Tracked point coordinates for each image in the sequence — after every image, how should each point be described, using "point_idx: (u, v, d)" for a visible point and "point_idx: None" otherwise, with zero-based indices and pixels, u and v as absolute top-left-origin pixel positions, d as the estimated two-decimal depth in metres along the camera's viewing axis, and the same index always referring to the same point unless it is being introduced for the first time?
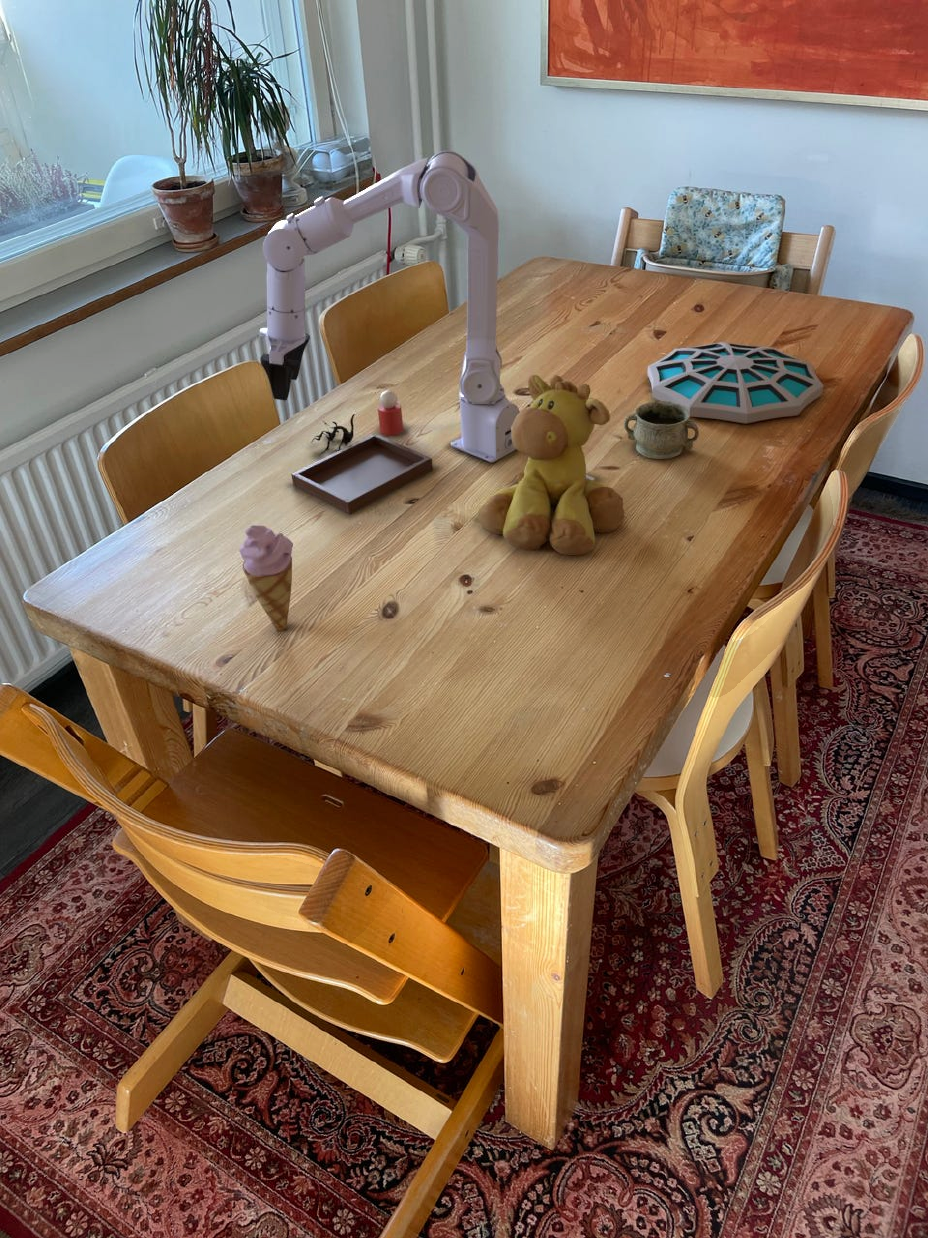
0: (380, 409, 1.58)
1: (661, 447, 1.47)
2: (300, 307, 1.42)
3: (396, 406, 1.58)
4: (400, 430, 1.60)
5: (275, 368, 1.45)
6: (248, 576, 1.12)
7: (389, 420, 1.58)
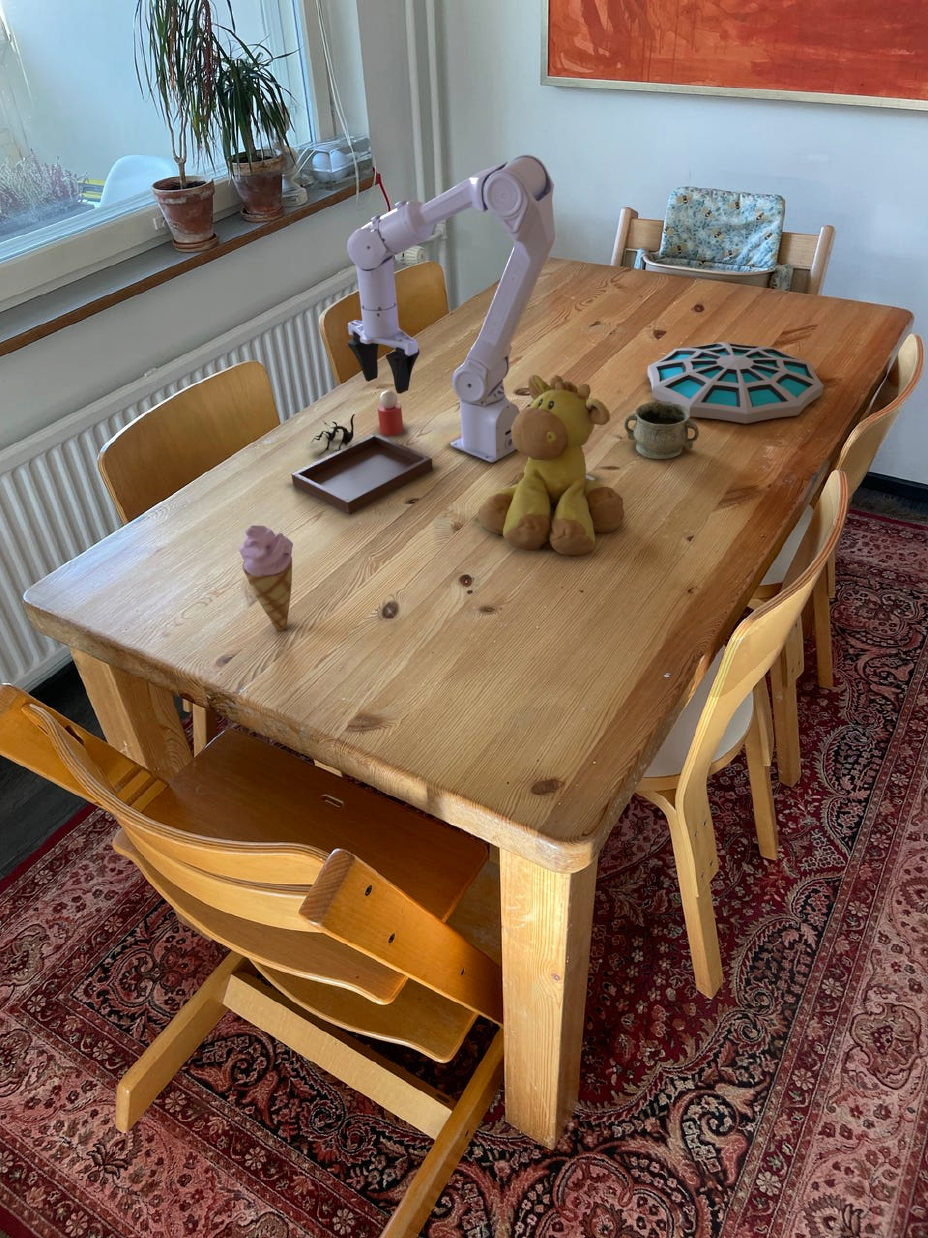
0: (380, 409, 1.58)
1: (661, 447, 1.47)
2: (388, 305, 1.46)
3: (396, 406, 1.58)
4: (400, 430, 1.60)
5: None
6: (248, 576, 1.12)
7: (389, 420, 1.58)
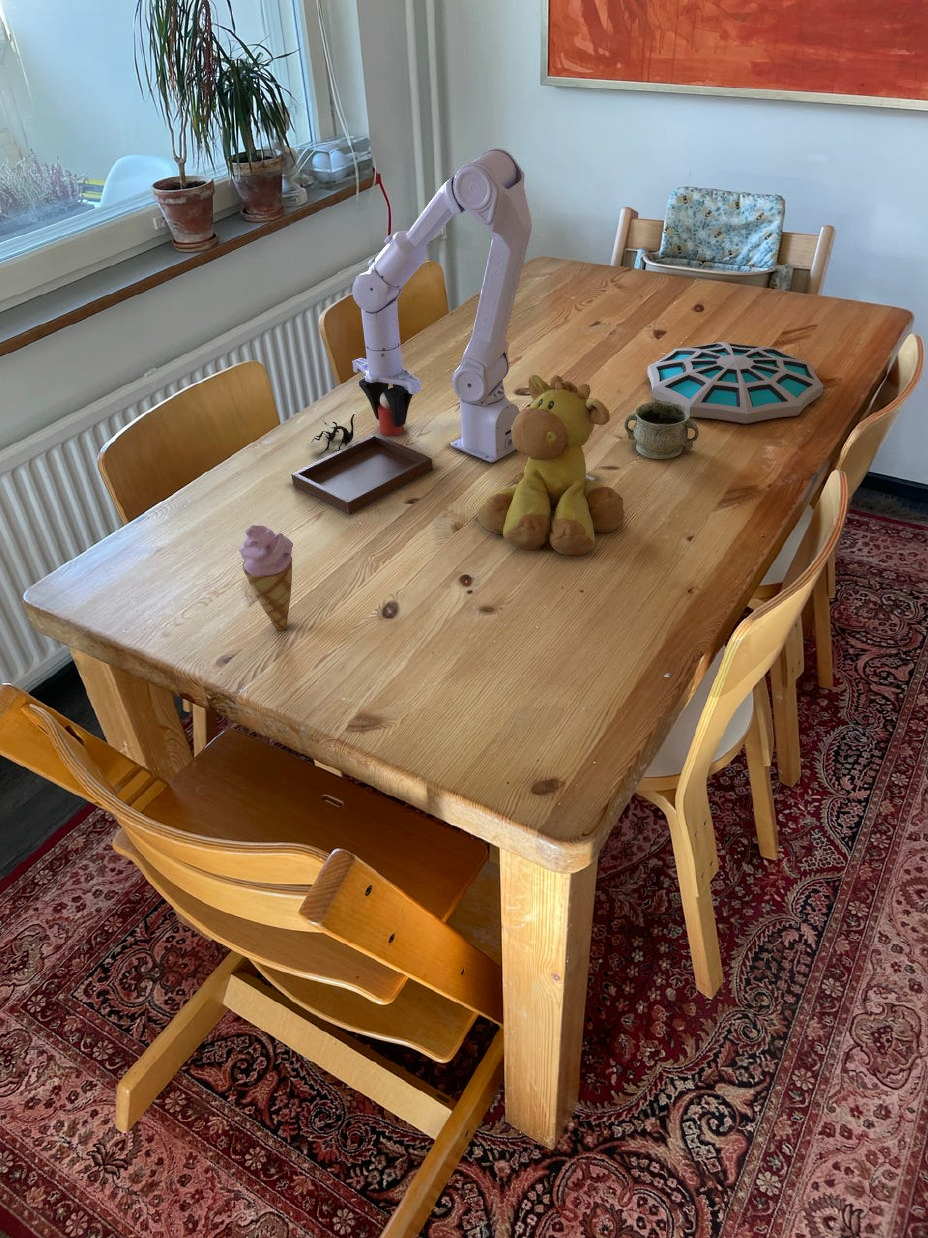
0: (380, 409, 1.58)
1: (661, 447, 1.47)
2: (392, 345, 1.50)
3: None
4: (400, 430, 1.60)
5: None
6: (248, 576, 1.12)
7: (389, 420, 1.58)
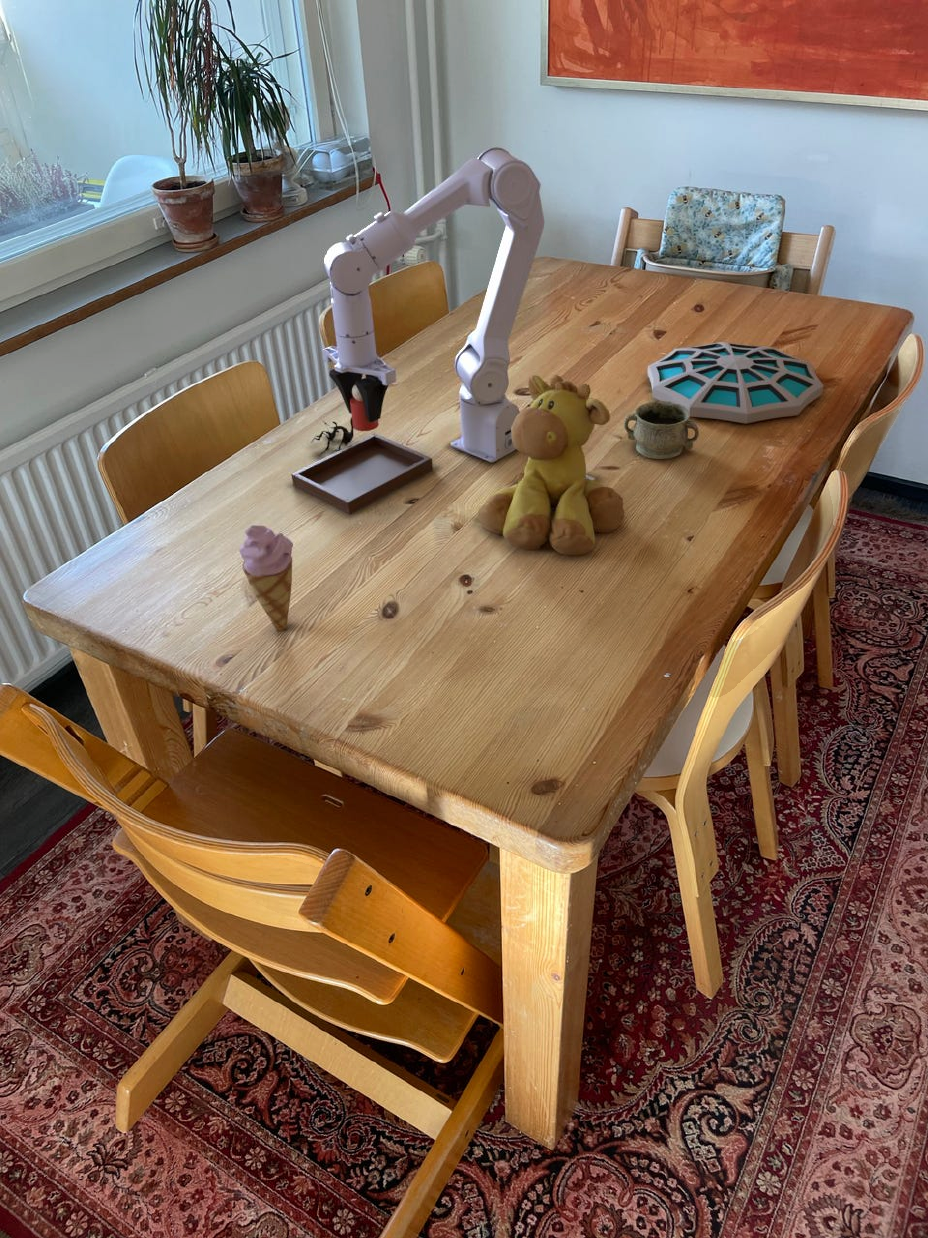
0: (352, 402, 1.44)
1: (661, 447, 1.47)
2: (372, 327, 1.37)
3: None
4: (375, 425, 1.46)
5: None
6: (248, 576, 1.12)
7: (362, 414, 1.44)
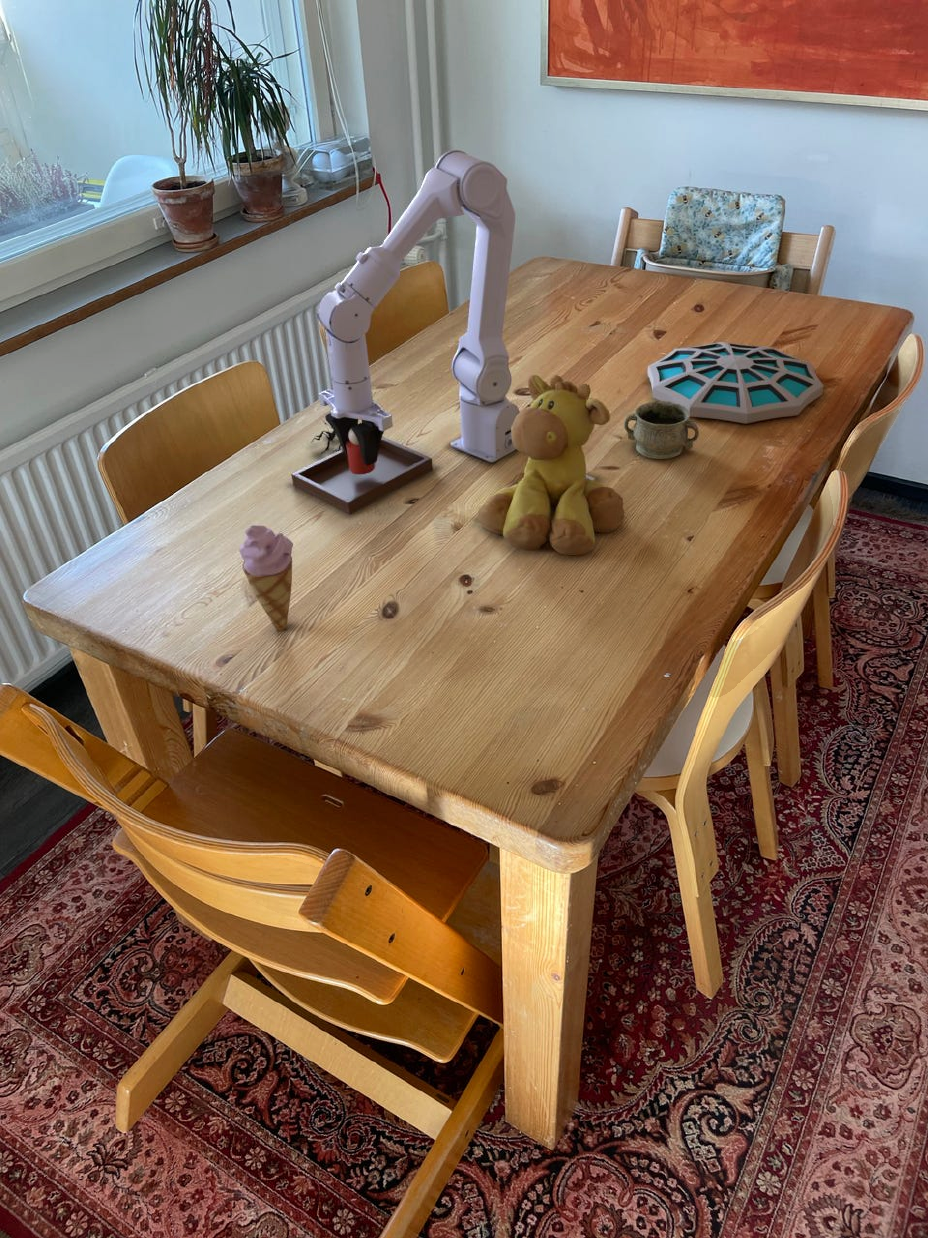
0: (349, 446, 1.44)
1: (661, 447, 1.47)
2: (369, 371, 1.38)
3: None
4: (371, 468, 1.46)
5: None
6: (248, 576, 1.12)
7: (358, 458, 1.44)
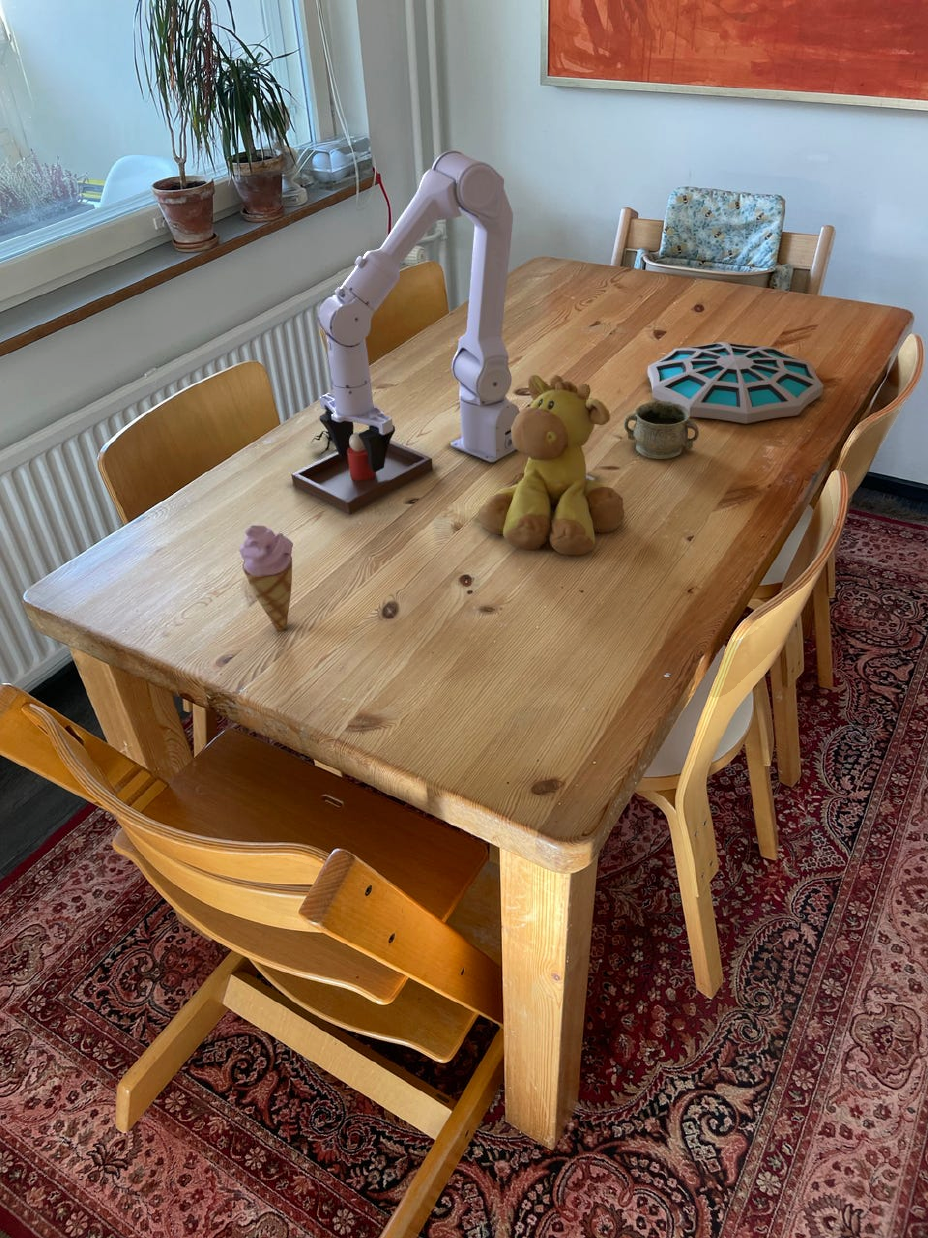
0: (350, 452, 1.45)
1: (661, 447, 1.47)
2: (369, 375, 1.38)
3: None
4: (372, 474, 1.47)
5: None
6: (248, 576, 1.12)
7: (359, 464, 1.45)
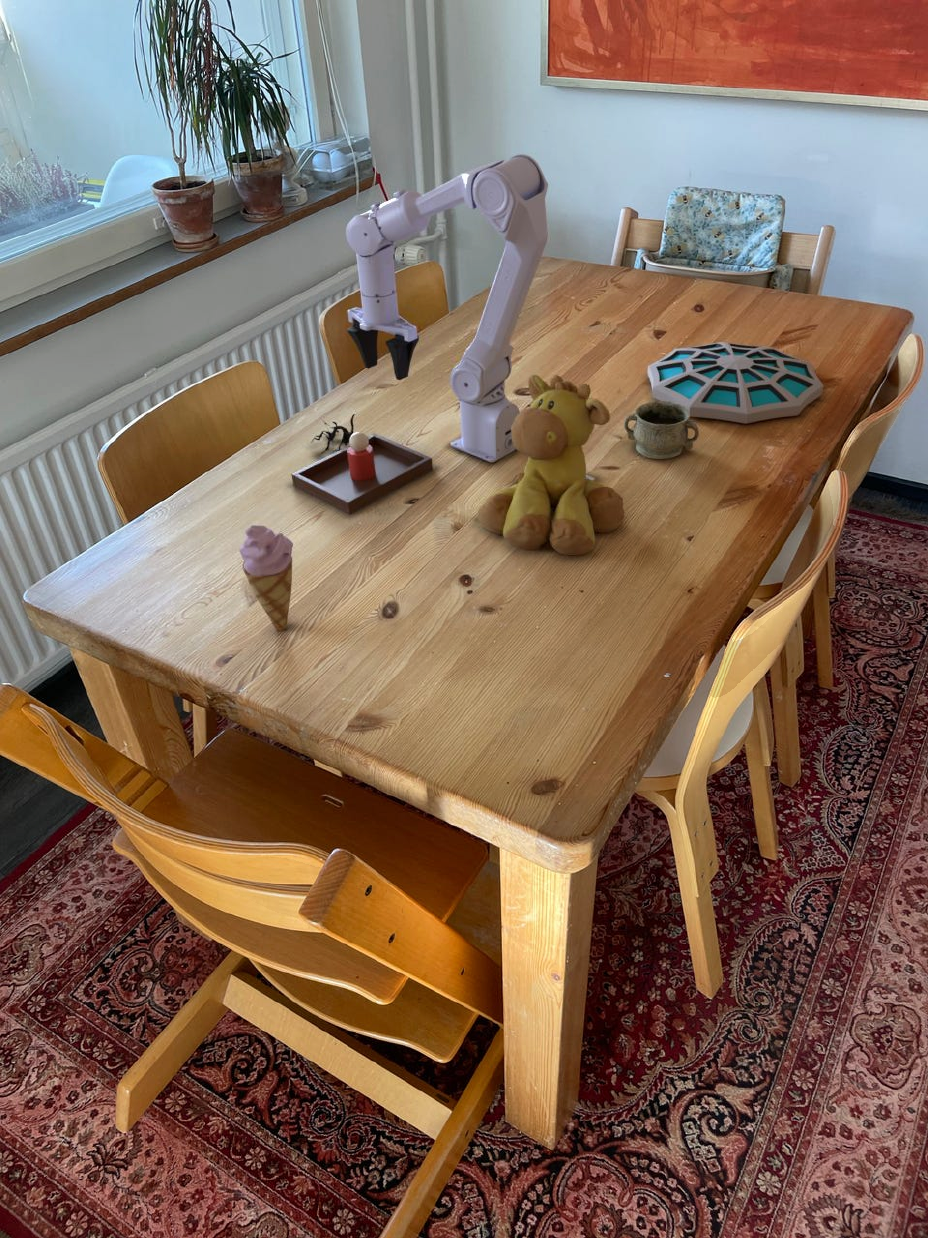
0: (350, 452, 1.45)
1: (661, 447, 1.47)
2: (386, 292, 1.47)
3: (367, 449, 1.46)
4: (372, 474, 1.47)
5: None
6: (248, 576, 1.12)
7: (359, 464, 1.45)
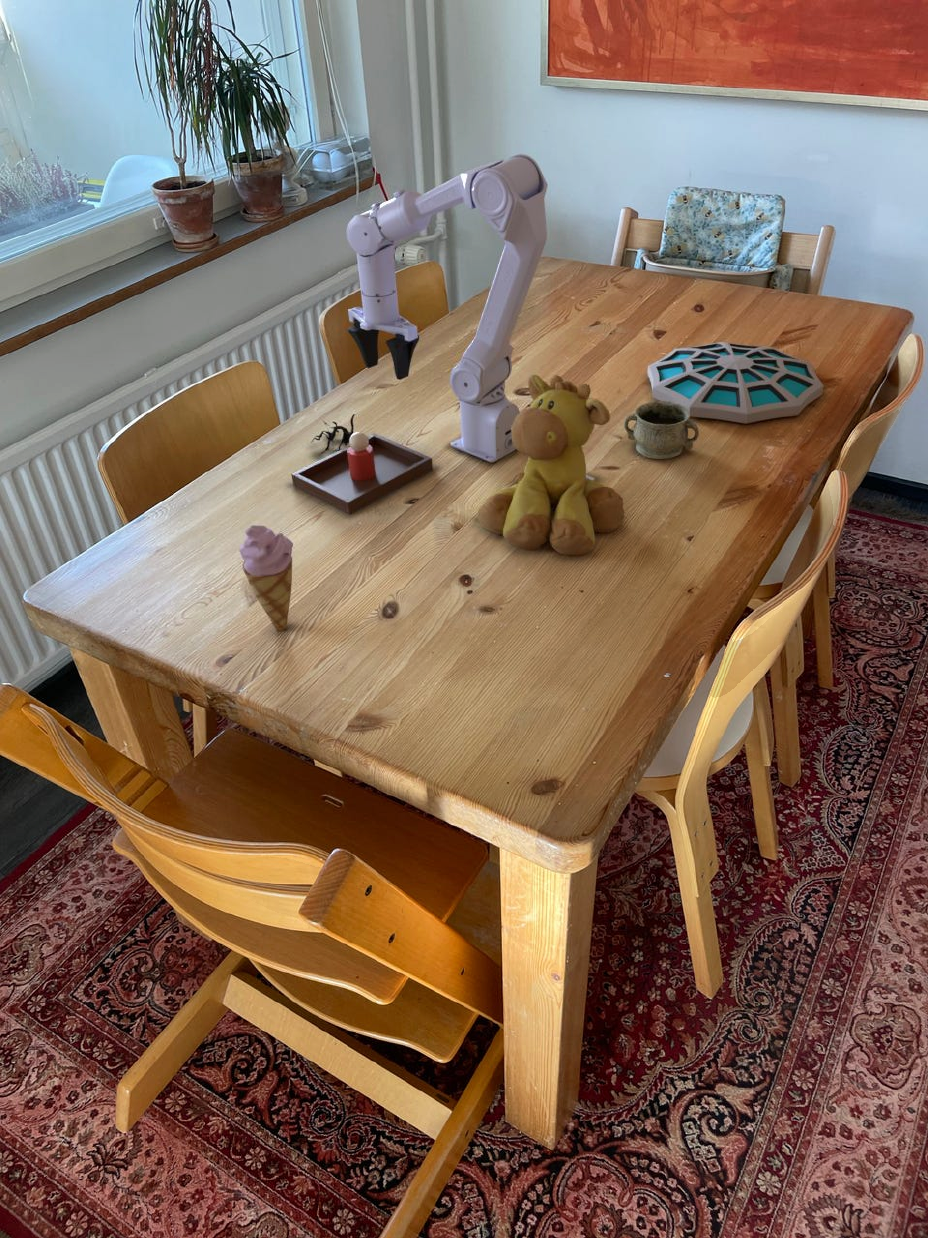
0: (350, 452, 1.45)
1: (661, 447, 1.47)
2: (386, 291, 1.47)
3: (367, 449, 1.46)
4: (372, 474, 1.47)
5: None
6: (248, 576, 1.12)
7: (359, 464, 1.45)
